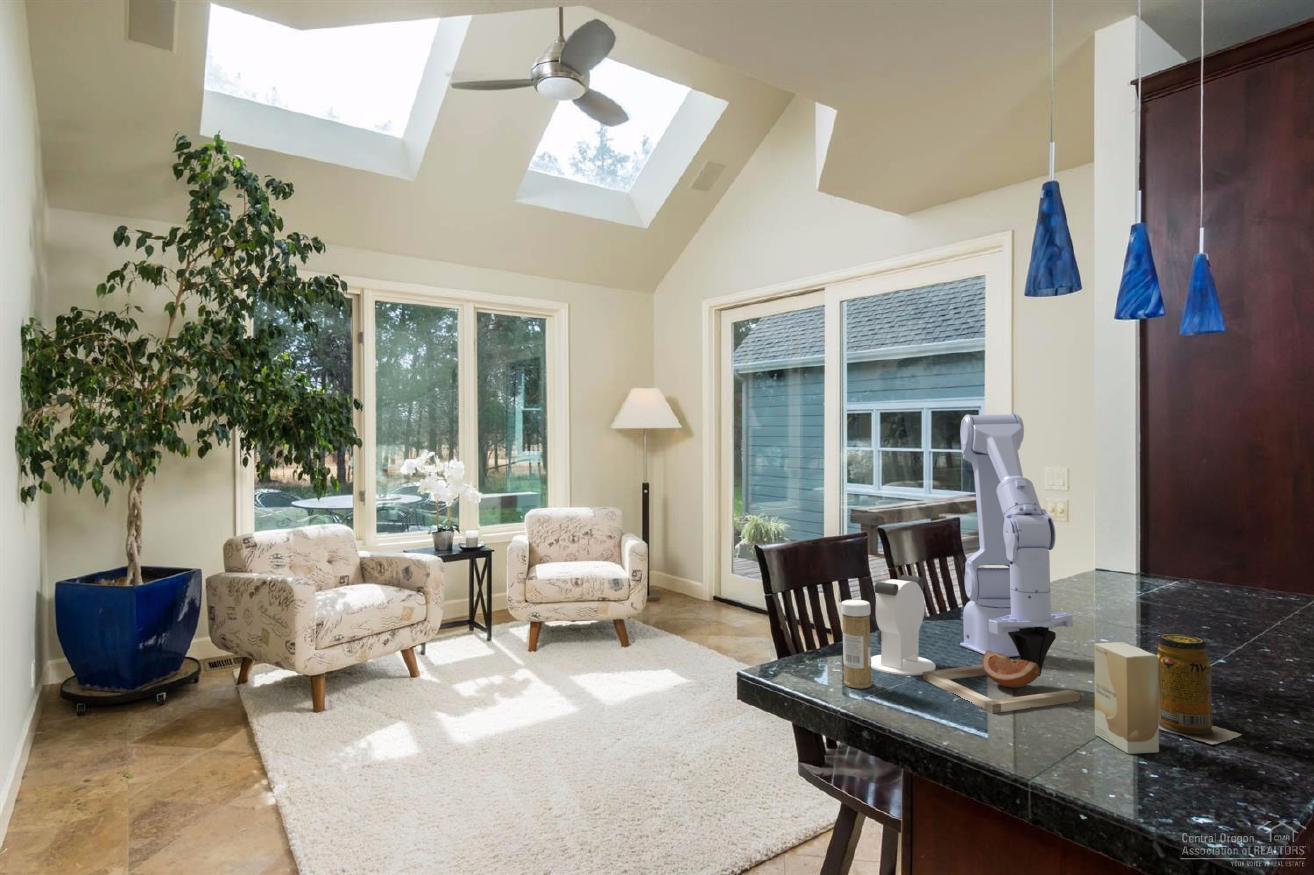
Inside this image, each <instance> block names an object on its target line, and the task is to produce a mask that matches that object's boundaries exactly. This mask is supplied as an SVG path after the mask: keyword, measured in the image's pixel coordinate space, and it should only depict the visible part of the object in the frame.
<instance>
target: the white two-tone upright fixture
mask: <svg viewBox="0 0 1314 875" xmlns="http://www.w3.org/2000/svg"><path fill="white" fill-rule="evenodd" d="M924 582H925V581H924V578H923V577H922V576H915V575H907V574H901V576H900V578H899V579H893V578H891V579H888V580H886V581H884V582H882V581H876V582H875V584H874V592H875V594H877V595H876V599H875V600H876V601H875V607H874V609H875V620H876V624H877V627H878V628H879V630H878V631H877V636H876V639H877V642H878V643H879V644H881V649H880V650H881V654H877V655H873V656H871V669H873V670H876V671H878V672H881V673H885V672H886V673H885V674H890V673H891V675H899V676H923V672H926V671H934V670H937V669H936V664H935V663H934V662H933V661H932V660H930V659H927V658H925V657H922V656H919V644H920V643H919V641H920V640H919V637H920V633H919V632H920V628H921V627H922V624H923V621H924V616H925V611H926V610H925V599H924V598H925V597H924V594H923V591H924V587H925V583H924Z"/></svg>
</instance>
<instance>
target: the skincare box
mask: <svg viewBox="0 0 1314 875" xmlns="http://www.w3.org/2000/svg"><path fill="white" fill-rule="evenodd" d="M1093 647H1094V650H1093V651H1094V734H1095V735H1096V736H1098V737H1099V738H1101V739H1102V740H1104V741H1106V742H1108V743H1109V744H1111V745H1112V746H1114V747H1116V748H1117V749H1119V750H1120V751H1123V752H1124V753H1126V754H1130V755H1131V754H1149V753H1150V754H1151V753H1159V752H1160V743H1159V742H1160V740H1159V739H1160V733H1159V732H1160V729H1159V684H1158V656H1157V655H1158V654H1154V653H1151V652H1149V651H1147V650H1144V649H1142V648H1140V647H1138V646H1133V645H1131V644H1130V643H1129V644H1128V643H1126V642H1124V641H1120V642H1119V641H1116V642H1100V643H1099V642H1098V643H1096V642H1095V643H1094V646H1093Z"/></svg>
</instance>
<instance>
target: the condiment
mask: <svg viewBox="0 0 1314 875" xmlns="http://www.w3.org/2000/svg"><path fill="white" fill-rule="evenodd" d="M1157 641H1158V648H1157V649H1158V652H1159V653H1158V654H1156V655H1157V656H1158V684H1159V730H1161V731H1165V732H1168V733H1171V734H1175V735H1181V736H1183V737H1186V738H1190V739H1191V740H1195V741H1199V742H1204V743H1206V744H1210V745H1217V744H1220V743H1224V742H1227V741H1231V740H1233V739H1234V738H1238V737H1240V736H1242V735H1243V734H1241V733H1238V732H1236V731H1232V730H1228V729H1226V728H1222V727H1219V726H1216V725H1214V724H1213V702H1212V698H1213V696H1212V671H1211V669H1212V667H1211V663H1210V661H1209V660H1208V652H1207V646H1208V645H1207V642H1206V641H1205V640H1203V639H1202V638H1199V637H1194V636H1191V635H1185V634H1176V633H1175V634H1174V633H1173V634H1171V633H1169V634H1162V635H1159V637H1158V640H1157Z"/></svg>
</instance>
